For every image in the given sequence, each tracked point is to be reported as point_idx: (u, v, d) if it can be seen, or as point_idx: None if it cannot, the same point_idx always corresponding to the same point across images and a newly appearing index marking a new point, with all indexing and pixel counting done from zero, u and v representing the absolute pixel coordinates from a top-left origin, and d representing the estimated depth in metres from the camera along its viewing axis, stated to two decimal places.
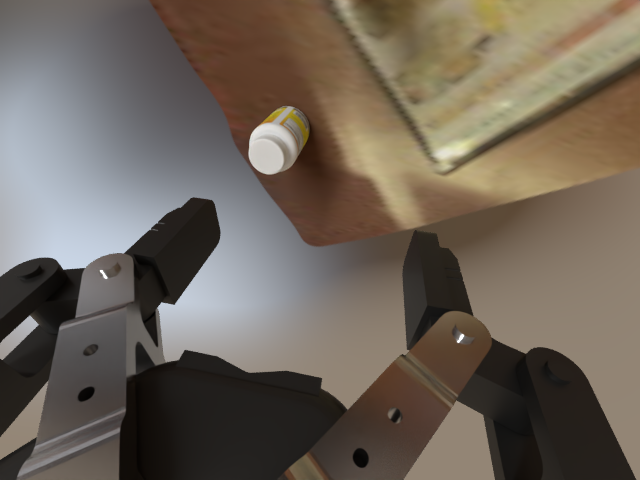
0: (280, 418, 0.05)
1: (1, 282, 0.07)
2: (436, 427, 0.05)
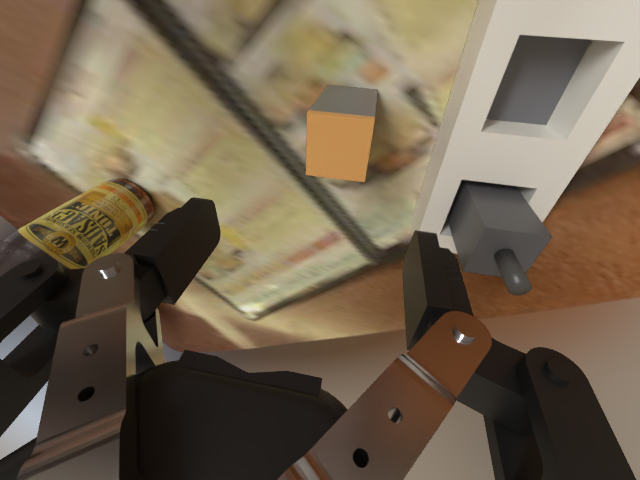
0: (280, 418, 0.05)
1: (1, 282, 0.07)
2: (436, 427, 0.05)
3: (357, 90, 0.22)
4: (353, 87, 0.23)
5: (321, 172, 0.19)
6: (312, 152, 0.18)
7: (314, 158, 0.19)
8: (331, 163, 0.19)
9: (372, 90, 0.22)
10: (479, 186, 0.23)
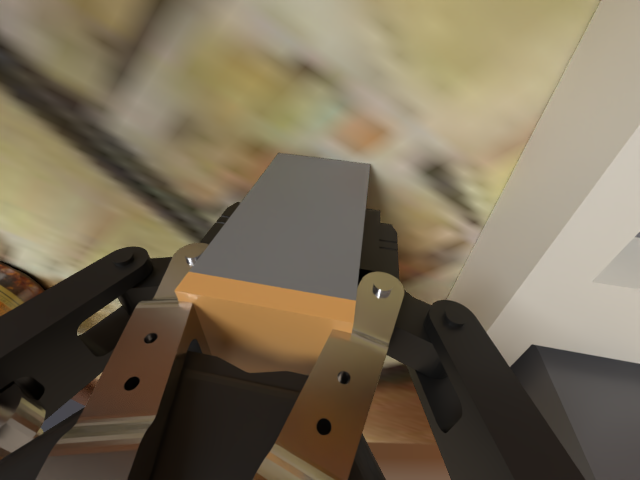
0: (280, 418, 0.05)
1: (101, 263, 0.08)
2: (379, 373, 0.05)
3: (331, 169, 0.12)
4: (325, 159, 0.12)
5: None
6: (211, 350, 0.08)
7: None
8: (258, 370, 0.08)
9: (360, 167, 0.12)
10: None
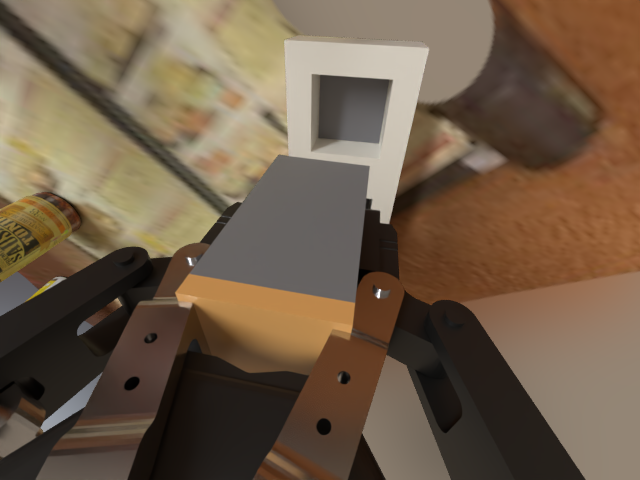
0: (280, 418, 0.05)
1: (101, 263, 0.08)
2: (379, 373, 0.05)
3: (330, 171, 0.12)
4: (325, 161, 0.12)
5: None
6: (212, 352, 0.08)
7: None
8: (258, 371, 0.08)
9: (359, 169, 0.12)
10: None
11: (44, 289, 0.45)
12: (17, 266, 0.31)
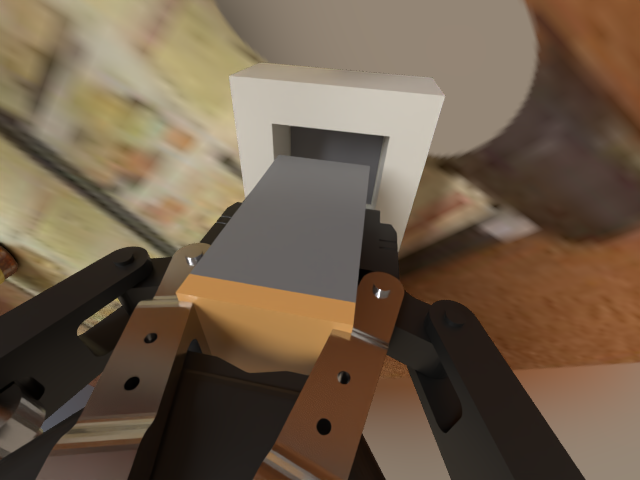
0: (280, 418, 0.05)
1: (101, 263, 0.08)
2: (379, 373, 0.05)
3: (331, 171, 0.12)
4: (325, 161, 0.12)
5: None
6: (212, 352, 0.08)
7: None
8: (259, 371, 0.08)
9: (360, 169, 0.12)
10: None
11: None
12: None
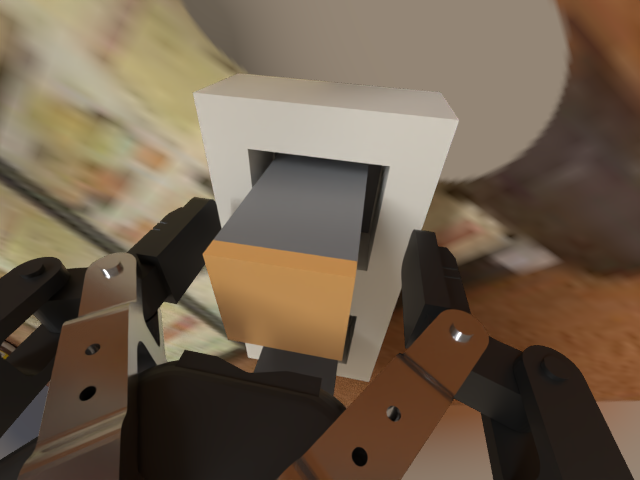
0: (280, 418, 0.05)
1: (5, 281, 0.07)
2: (434, 425, 0.05)
3: None
4: None
5: (256, 339, 0.10)
6: (231, 312, 0.09)
7: (237, 321, 0.09)
8: (272, 330, 0.09)
9: None
10: None
11: None
12: None
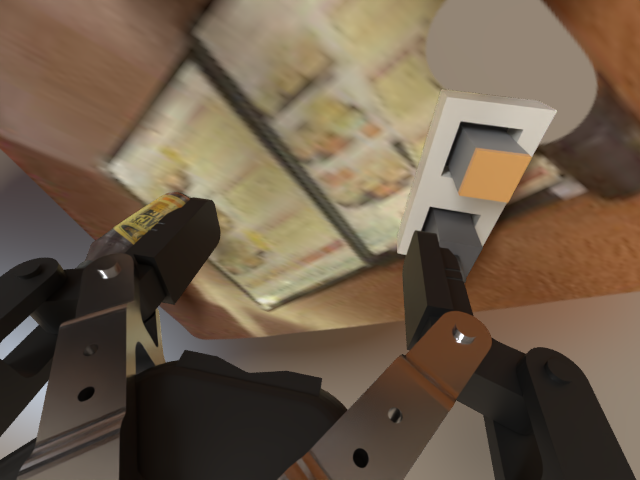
0: (280, 418, 0.05)
1: (1, 282, 0.07)
2: (436, 427, 0.05)
3: (487, 128, 0.28)
4: (481, 125, 0.28)
5: (473, 194, 0.24)
6: (471, 178, 0.24)
7: (471, 183, 0.24)
8: (484, 187, 0.24)
9: (498, 128, 0.28)
10: (442, 211, 0.32)
11: None
12: None
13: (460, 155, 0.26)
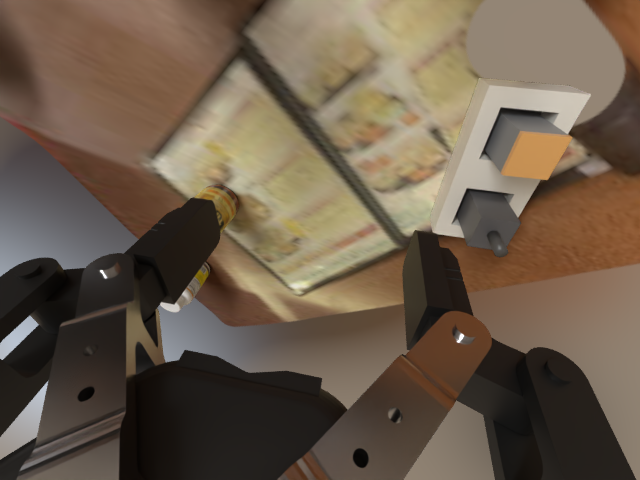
0: (280, 418, 0.05)
1: (1, 282, 0.07)
2: (436, 427, 0.05)
3: (523, 113, 0.30)
4: (516, 110, 0.31)
5: (515, 173, 0.27)
6: (514, 159, 0.26)
7: (514, 163, 0.27)
8: (526, 167, 0.27)
9: (533, 112, 0.30)
10: (478, 192, 0.35)
11: None
12: None
13: (501, 139, 0.29)
